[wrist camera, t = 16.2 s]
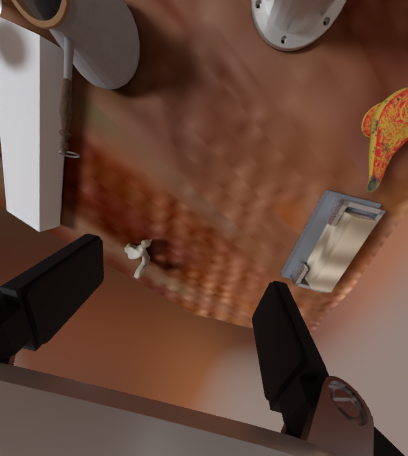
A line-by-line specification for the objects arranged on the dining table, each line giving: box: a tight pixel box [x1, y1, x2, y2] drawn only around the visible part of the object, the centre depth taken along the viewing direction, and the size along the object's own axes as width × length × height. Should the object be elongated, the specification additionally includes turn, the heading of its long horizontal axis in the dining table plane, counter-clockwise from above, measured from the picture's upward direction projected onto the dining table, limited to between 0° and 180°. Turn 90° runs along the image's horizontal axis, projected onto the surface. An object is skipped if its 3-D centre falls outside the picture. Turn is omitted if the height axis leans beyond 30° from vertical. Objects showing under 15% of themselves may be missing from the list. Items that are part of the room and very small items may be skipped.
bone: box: [124, 240, 152, 278], centre depth 40 cm, size 9×6×10 cm
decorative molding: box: [0, 17, 65, 232], centre depth 34 cm, size 34×5×10 cm
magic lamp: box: [361, 87, 408, 193], centre depth 24 cm, size 7×18×11 cm, turn 166°
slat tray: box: [281, 189, 382, 279], centre depth 37 cm, size 21×10×2 cm, turn 167°
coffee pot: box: [12, 0, 140, 158], centre depth 23 cm, size 21×12×15 cm, turn 177°
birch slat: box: [304, 210, 378, 292], centre depth 34 cm, size 16×4×5 cm, turn 170°
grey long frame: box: [290, 197, 386, 293], centre depth 35 cm, size 20×7×3 cm, turn 167°
